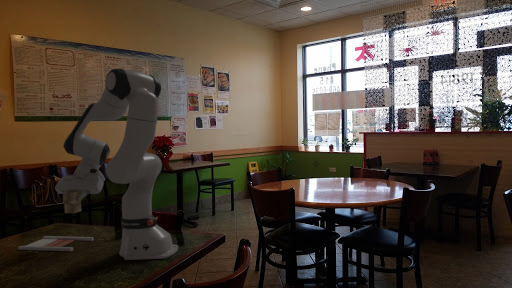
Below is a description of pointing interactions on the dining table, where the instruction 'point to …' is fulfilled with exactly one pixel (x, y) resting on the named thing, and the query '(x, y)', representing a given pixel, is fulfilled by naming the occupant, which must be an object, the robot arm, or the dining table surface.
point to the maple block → (72, 202)
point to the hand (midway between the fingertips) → (71, 200)
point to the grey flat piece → (53, 243)
